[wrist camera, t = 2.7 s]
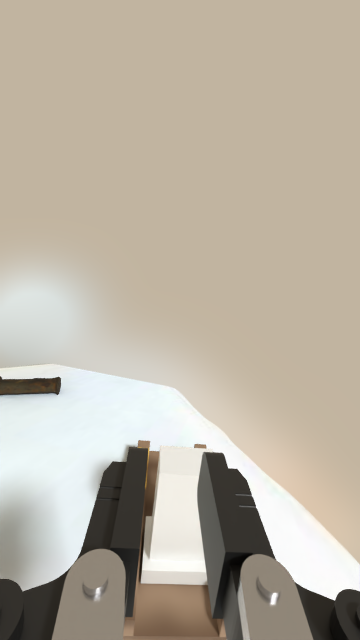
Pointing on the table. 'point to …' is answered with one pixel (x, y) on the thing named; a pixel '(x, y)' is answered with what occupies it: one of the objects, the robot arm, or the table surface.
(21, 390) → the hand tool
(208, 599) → the switch housing
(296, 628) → the robot arm
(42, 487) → the table surface
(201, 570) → the switch tab
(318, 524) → the table surface
